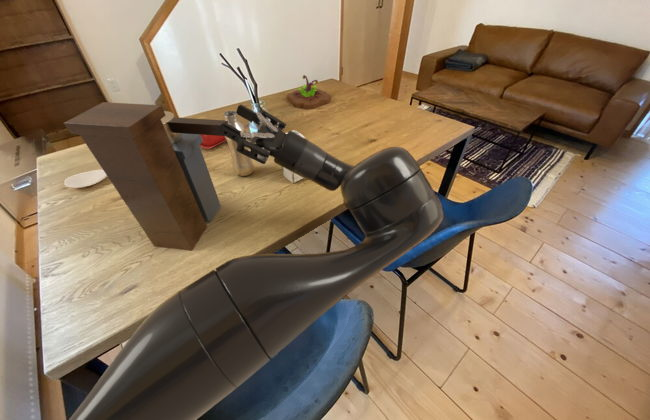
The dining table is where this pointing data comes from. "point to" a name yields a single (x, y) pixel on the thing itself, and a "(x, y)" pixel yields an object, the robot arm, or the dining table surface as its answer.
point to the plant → (308, 96)
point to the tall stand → (143, 170)
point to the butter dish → (211, 141)
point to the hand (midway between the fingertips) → (229, 117)
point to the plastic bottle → (239, 161)
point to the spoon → (85, 179)
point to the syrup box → (289, 174)
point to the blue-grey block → (197, 174)
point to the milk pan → (189, 126)
